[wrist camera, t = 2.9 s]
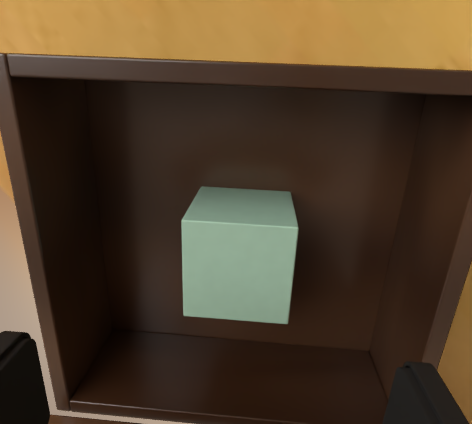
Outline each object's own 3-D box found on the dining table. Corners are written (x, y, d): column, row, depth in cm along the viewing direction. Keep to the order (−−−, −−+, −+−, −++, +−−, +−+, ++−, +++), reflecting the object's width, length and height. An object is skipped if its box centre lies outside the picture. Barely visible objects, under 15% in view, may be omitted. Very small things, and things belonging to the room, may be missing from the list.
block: (200, 185, 17) (181, 220, 13) (290, 191, 17) (299, 227, 13) (200, 264, 19) (182, 316, 15) (282, 270, 19) (288, 325, 14)
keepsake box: (75, 60, 16) (-17, 52, 11) (439, 74, 15) (533, 72, 10) (107, 329, 22) (56, 410, 16) (375, 351, 21) (413, 445, 16)
